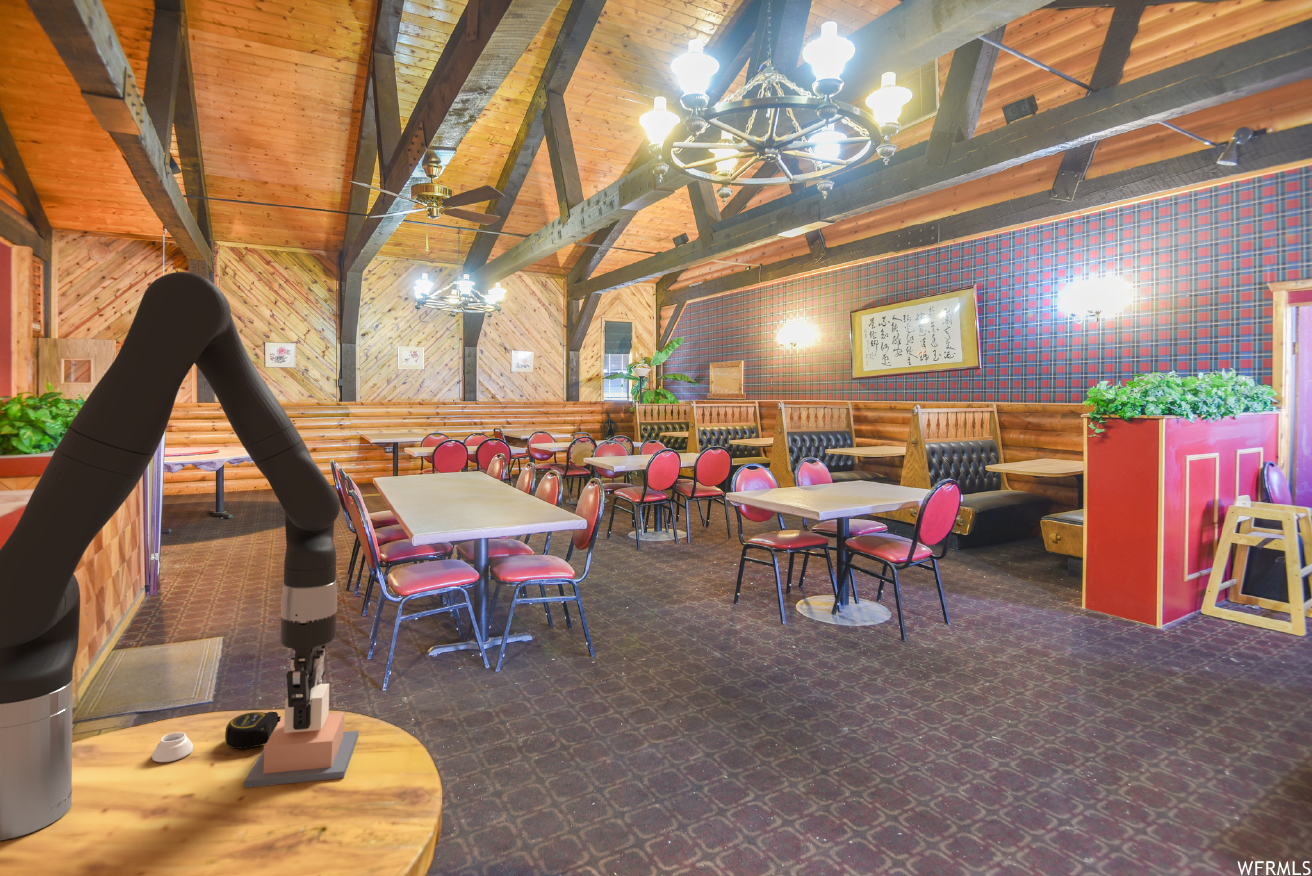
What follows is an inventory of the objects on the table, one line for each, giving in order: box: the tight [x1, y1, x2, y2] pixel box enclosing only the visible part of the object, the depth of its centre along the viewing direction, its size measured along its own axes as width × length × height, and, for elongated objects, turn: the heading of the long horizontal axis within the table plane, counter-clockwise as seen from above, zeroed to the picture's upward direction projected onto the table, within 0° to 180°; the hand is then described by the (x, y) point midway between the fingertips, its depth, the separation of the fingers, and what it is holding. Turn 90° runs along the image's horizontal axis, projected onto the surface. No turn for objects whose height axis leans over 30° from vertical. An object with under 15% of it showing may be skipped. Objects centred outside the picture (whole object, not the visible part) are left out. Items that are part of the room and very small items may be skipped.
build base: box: [243, 712, 359, 788], centre depth 98 cm, size 13×12×5 cm
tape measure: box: [224, 711, 282, 750], centre depth 103 cm, size 7×7×4 cm
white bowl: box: [151, 731, 194, 763], centre depth 98 cm, size 5×3×5 cm
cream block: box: [284, 683, 330, 733], centre depth 98 cm, size 5×5×5 cm
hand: (306, 719), depth 98 cm, fingers closed on cream block, 4 cm apart
